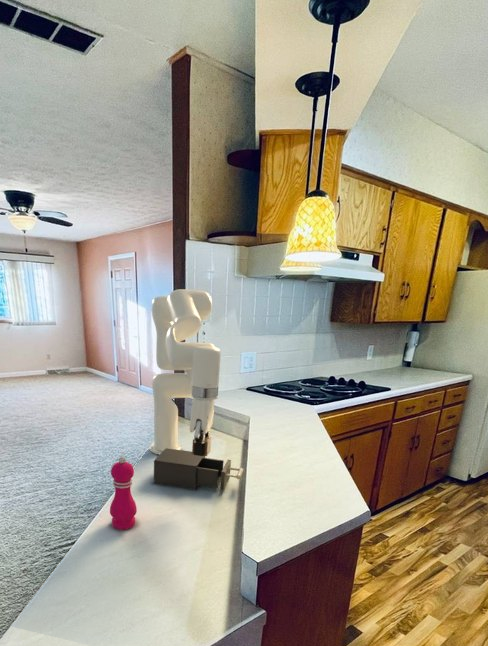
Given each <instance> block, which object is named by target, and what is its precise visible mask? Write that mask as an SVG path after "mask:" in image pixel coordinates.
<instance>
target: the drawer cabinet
mask: <svg viewBox="0 0 488 646" xmlns="http://www.w3.org/2000/svg"><path fill="white" fill-rule="evenodd" d="M203 458H206V456H197V455H194V454H192V451H189V450H182V449H181V450H176V449H169V448H166V449H165V450H164V451H163V452H162V453H161V454H160V455H157V456H156V457H155V458H154V459H153V484H154V485H160V486H166V487H173V488H180V489H186V490H193V491H196V489H197V488H198V487H199V485H196V474H197V467H198V465H199V464H200V462H201V461H202V459H203Z"/></svg>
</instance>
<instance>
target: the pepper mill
mask: <svg viewBox="0 0 488 646" xmlns="http://www.w3.org/2000/svg"><path fill="white" fill-rule="evenodd" d="M110 475H111V477H112V482H113V483H112V485H113V487H114V497H113V499H112V502H111V503H110V507H109V514H110V516H111V517H112V518H111V526H112V527H113V528H114V529H116V530H121V531H123V530H129V529H131V528H134V527H135V525H136V517H135V516H136V514H137V511H138V510H137V509H138V508H137V504H136V502H135V500H134V497H133V495H132V491H131V488H132V485H133V477H134V475H135V468H134V466H133V464H131V463H130V462H128V461H127V460H126V457H124V456H120V457H119V458H118V461H117V462H115V463H114V464H112V466H111V469H110Z"/></svg>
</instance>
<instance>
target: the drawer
mask: <svg viewBox="0 0 488 646" xmlns="http://www.w3.org/2000/svg"><path fill="white" fill-rule="evenodd" d="M224 462H225V461H224V460H223V459H217V458H209V457H205V458H203V459H202V461H201V462H200V464H199V465H198V467H197V474H196V485H198V487H199V486H200V487H205V488H206V487H207V488H214V489H217V488H218V487H219V491H220V492H224V491H225V489H226V487H227V484H228V483H229V480H230V478H236V480H240V479H241V477H242V475H243V472H244V467H240V468H237V467H231V465H232V460H231V459H227V461H226V462H225V464H224ZM231 471H236V472H237V471H238V472H237V474H231ZM219 484H220V486H219Z"/></svg>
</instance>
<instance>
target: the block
mask: <svg viewBox="0 0 488 646" xmlns="http://www.w3.org/2000/svg"><path fill="white" fill-rule="evenodd" d="M201 437H202V436H201ZM204 443H205V455H204V456H205V457H208V455H209V454H210V452H211V448H212V447H211V446H212V437H210V436H209V437H205V440H204ZM191 448H192V451H191V452H192V454H194V438H193V439H192V447H191Z"/></svg>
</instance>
